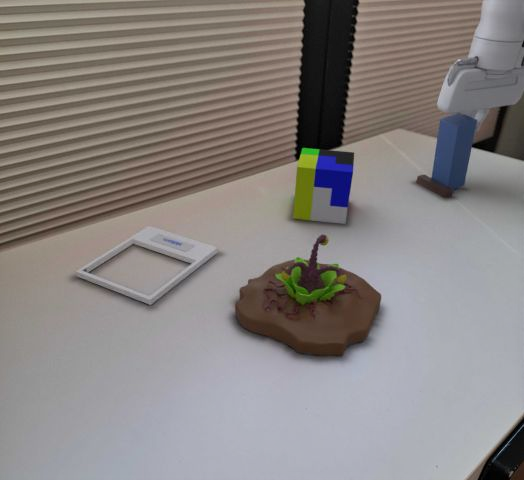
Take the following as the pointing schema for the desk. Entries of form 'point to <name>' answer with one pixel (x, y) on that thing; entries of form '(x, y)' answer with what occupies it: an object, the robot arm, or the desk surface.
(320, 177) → the puzzle toy
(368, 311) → the plant
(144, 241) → the photo frame
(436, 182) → the bar
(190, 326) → the desk surface
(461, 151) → the toy block
